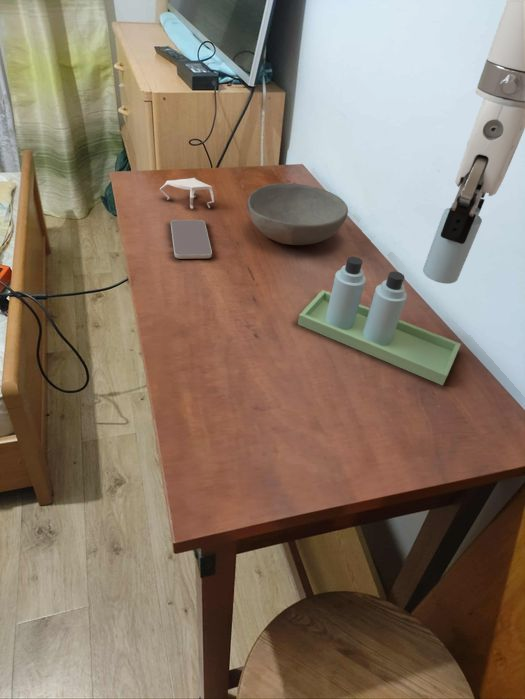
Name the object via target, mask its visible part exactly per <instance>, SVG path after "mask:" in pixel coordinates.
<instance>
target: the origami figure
mask: <svg viewBox="0 0 525 699" xmlns="http://www.w3.org/2000/svg"><path fill="white" fill-rule="evenodd" d="M168 186H169V187H170V186H171V187H174V188H177V189H182V190H187V191H190V192H189V208H190V209H191V210H192V209H194V198H197V196H196V195H194V194H195V193H196V191H206V190H208V193H209V195H210V198H211V201H209V202H206V206H207V207H208V209H211V206H210V204H212V203H215V199H214V198H215V197H214V192H213V186H212V185H209V184H207V183H205V182H202V181H200V180H198V179H196V177H191V178H180V179H171V180H166V181H165V183H164V184H163V185H162V186H161V187H160V188H159V191H160V192H161V193H162V194H163V195H164V196H165V197H166V200H168V201H170V200H171V197H170V196H169V195H168V194H167V193H166V192H165V191H164V189H165V188H167V187H168Z"/></svg>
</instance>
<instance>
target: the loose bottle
mask: <svg viewBox="0 0 525 699" xmlns="http://www.w3.org/2000/svg"><path fill="white" fill-rule="evenodd" d="M476 196H477V195H476V194H473V197H472V198H474V201H475V198H476ZM452 206H453V203H451V206H450V207H447V208H445V209H444V210H443V212H442V215H441V217H440V220H439V223H438V226H437V228H436V231H435V234H434V236H433V240H432V242H431V245H430V248H429V251H428V253H427V257H426V259H425V262H424V265H423V268H422V272H423V274H424V275H425V277H427V278H428V279H430V280H431V281H434V282H436V283H440V284H445V285H446V284H454V283H456V282H457V281H458V280H459V278H460V275H461V272H462V271H463V268H464V265H465V263H466V261H467V259H468V256H469V253H470V251H471V249H472V247H473V244H474V241H475V239H476V237H477V234H478V232H479V230H480V228H481V225H482V222H483V220H482V217H481V216H479V215H480V213H481V210H480V209H479V208H478V207H477V208H476V211H475V213H474V214H475V215H476V217H475V219H474V222H473V224H472V226H471V229H470V231H469V234H468V236H467V239H466V241H465V243H464V244H460V243H457V242H454V241H451V240H448V239H445V238H442V237H441V232H442V229H443V227H444V224H445V221H446V218H447V216H448V213H449V210H450V208H451V207H452Z"/></svg>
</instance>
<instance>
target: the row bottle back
mask: <svg viewBox="0 0 525 699" xmlns="http://www.w3.org/2000/svg"><path fill="white" fill-rule="evenodd" d="M362 265H363V260H362V259H361V258H360V257H358V256H348V258H347V259H346V264H345V265H343V266H342V267H341V268H340V269H339V270H337V271H336V272H335V274H334V278H333V279H334V280H333V284H332V288H331V292H330V293H331V296H330V301H329V305H328V309H327V314H326V322H327V323H328V324H330V325H333V326H335V327H337V328H340V329H349V328H351V327H352V326H353V325H354V322H355V318H356V314H357V311H358V307H359V304H361V300H362V297H363V292H364V288H365V285H366V282H367V277H366V276H365V275H364V270H363V269H362Z"/></svg>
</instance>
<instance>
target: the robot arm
mask: <svg viewBox="0 0 525 699" xmlns="http://www.w3.org/2000/svg"><path fill="white" fill-rule="evenodd" d="M492 39H493V40H492V43H491V45H490V48H489V51H488V54H487V57H486V60H485V63H484V66H483V67H482V68H483V69H482V72H481V74H480V76H479V77H480V78H479V80H478V83H477V85H476V89H475V93H476V95H478V96H479V97H481V98H483V100H482V103H481V105H480V108H479V111H478V113H477V116H476V119H475V122H474V124H473V127H472V130H471V132H470V135H469V138H468V141H467V143H466V146H465V150H464V153H463V155H462V159H461V161H460V164H459V167H458V168H459V169H458V171H457V174H456V178H455V184H456V186H457V188H458V190H457V194H456V196H455V198H454V201H453V203H452V204H453V206H452V205H451V206H452V207H451V206H450V207H449V208H450V210H449V213H448V216H447V218H446V221H445V224H444V227H443V229H442V232H441V237H442V238H445V239H448V240H451V241H454V242H457V243H460V244H464V243H465V241H466V239H467V236H468V234H469V231H470V229H471V226H472V224H473V222H474V219H475V217H476V215H475V214H474V213H475V211H476V208H477V207H478V208H479V209H480V211H481V210H482V208H483V205H484V202H485V196H486V194H488V197H493V196H494V195H496V194H497V192H498V191H499V188H500V187H501V185H502V183H503V181H504V179H505V178H506V174H507V172H508V169H509V167H510V166H511V163H512V160H513V157H514V155H515V153H516V151H517V149H518V145H519V143H520V141H521V138H522V136H523V134H524V131H525V0H506V1H505V5H504V7H503V11H502V14H501V16H500V19H499V22H498V25H497V28H496V31H495V33H494V36H493V38H492ZM473 194H476V195H477V196H476V198H475V201H474V198H472V197H473Z"/></svg>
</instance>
